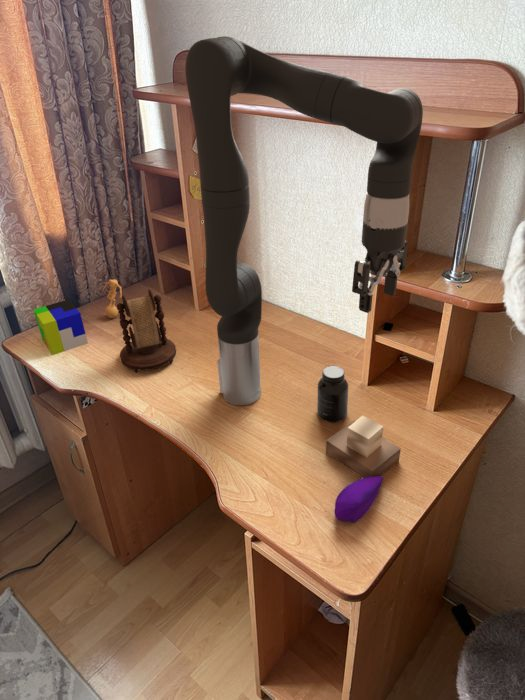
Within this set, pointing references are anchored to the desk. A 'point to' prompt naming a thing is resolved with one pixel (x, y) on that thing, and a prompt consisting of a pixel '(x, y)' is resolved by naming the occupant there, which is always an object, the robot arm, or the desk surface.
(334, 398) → the supplement bottle
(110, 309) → the figurine
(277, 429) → the desk surface
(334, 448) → the walnut slab
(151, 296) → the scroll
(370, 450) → the oak cube
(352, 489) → the purple teardrop shape
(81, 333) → the puzzle toy
